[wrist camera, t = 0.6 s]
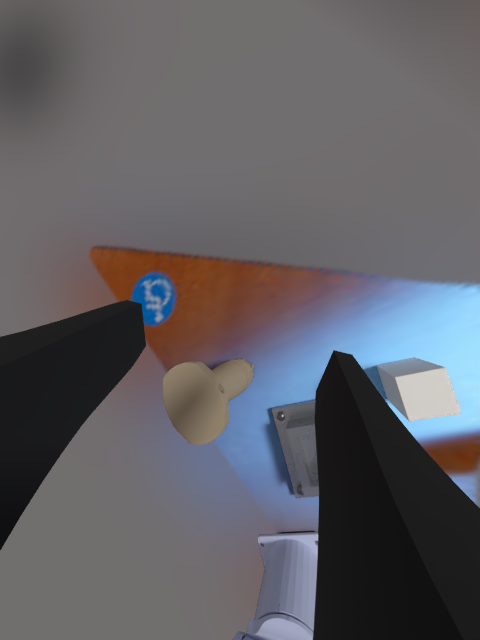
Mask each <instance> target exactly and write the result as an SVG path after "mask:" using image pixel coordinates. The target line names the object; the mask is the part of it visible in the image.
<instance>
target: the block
mask: <svg viewBox="0 0 480 640" xmlns="http://www.w3.org/2000/svg"><path fill="white" fill-rule="evenodd" d="M377 369H378V372H379V375H380V378H381V381H382V384H383V387H384V390H385V393H386V397H387V399H388V400H389V401H390V402H391V403H392V404H393V405H394V406H395V407H396V408H397V409H398V410H399V411H400V412H401V413H402V415H403V416H404V417H405V418H406V419H407V420H408V421H416V420H422V419H429V418H436V417H442V416H449V415H456V414H461V411H460V408H459V405H458V402H457V399H456V396H455V394H454V391H453V388H452V385H451V382H450V379H449V376H448V374H447V371H446V368H445V367H442V366H439V365H436V364H433V363H430V362H427V361H424V360H421V359H417V358H409V359H405V360H400V361H395V362H391V363H386V364H381V365H377Z"/></svg>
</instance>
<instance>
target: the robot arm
mask: <svg viewBox="0 0 480 640" xmlns="http://www.w3.org/2000/svg"><path fill="white" fill-rule="evenodd" d="M145 346H146V342H145V333H144V323H143V314H142V305H141V304H140V303H136V302H132V301H128V300H126V301H121V302H117V303H114V304H110V305H108V306H104V307H101V308H98V309H95V310H91V311H89V312H85V313H82V314H79V315H76V316H73V317H70V318H67V319H63V320H60V321H57V322H53V323H50V324H47V325H43V326H40V327H36V328H33V329H29V330H26V331H22V332H18V333H14V334H10V335H6V336H2V337H0V550H1V548H2V547H3V545H4V543H5V541H6V540H7V538H8V536H9V535H10V533H11V531H12V530H13V528H14V526H15V525H16V523H17V521H18V520H19V518H20V516H21V515H22V513H23V511H24V510H25V508H26V507H27V505H28V504H29V502H30V500H31V499H32V497H33V496H34V494H35V493H36V491H37V489H38V488H39V486H40V485H41V483H42V481H43V480H44V478H45V477H46V476H47V474H48V473H49V471H50V470H51V468H52V466H53V465H54V464H55V462H56V461H57V459H58V458H59V457H60V455H61V453H62V452H63V451H64V449H65V448H66V446H67V445H68V444H69V442H70V441H71V440H72V438H73V437H74V435H75V434H76V433H77V431H78V430H79V429H80V427H81V426H82V424H83V423H84V422H85V421H86V420H87V418H88V417H89V416H90V415H91V413H92V412H93V411H94V410H95V409H96V408H97V406H98V405H99V404H100V403H101V402H102V401H103V400H104V399H105V397H106V396H107V395H108V394H109V393H110V392H111V390H112V389H113V388H114V387H115V386H116V385H117V384H118V382H119V381H120V380H121V379H122V378H123V377H124V376H125V375H126V373H127V372H128V371H129V370H130V369H131V367H132V366H133V365H134V363H135V362H136V360H137V359H138V357H139V356H140V354H141V353H142V351H143V349H144V348H145ZM314 418H315V436H316V451H317V466H318V481H319V527H318V533H316V532H306V533H285V534H265V535H264V534H263V535H259V536H258V544H259V548H260V552H261V556H262V560H263V564H264V568H265V570H264V575H263V580H262V585H261V589H260V595H259V599H258V604H257V609H256V614H255V619H254V620H253V619H250V620H249V624H248V628H247V633H246V634H245V633H244V632H240V631H239V632H238V633H237V634H236V636H235V637H234V638H233V639H232V640H480V508H479V507H478V506H477V505H476V504H475V503H474V502H473V501H472V500H471V499H470V498H469V497H468V496H467V495H466V494H465V493H464V492H463V491H462V490H461V489H460V488H459V487H458V486H457V485H456V484H455V483H454V482H453V481H452V479H451V478H450V477H449V476H448V475H447V474H446V473H445V472H444V471H443V470H442V469H441V468H440V466H439V465H438V464H437V463H436V462H435V461H434V460H433V459H432V458H431V457H430V456H429V454H428V453H427V452H426V451H425V450H424V449H423V448H422V446H421V445H420V444H419V443H418V442H417V441H416V439H415V438H414V437H413V436H412V434H411V433H410V432H409V431H408V430H407V428H406V427H405V426H404V425H403V423H402V422H401V421H400V420H399V418H398V417H397V416H396V415H395V413H394V412H393V411H392V409H391V408H390V407H389V406H388V404H387V403H386V402H385V400H384V399H383V397H382V396H381V395H380V393H379V392H378V391H377V389H376V388H375V386H374V385H373V384H372V382H371V381H370V379H369V378H368V377H367V375H366V374H365V372H364V371H363V369H362V368H361V367H360V365H359V364H358V362H357V361H356V359H355V358H354V357H353V355H351V354H347V353H342V352H338V351H333V353H332V355H331V358H330V360H329V362H328V365H327V367H326V369H325V372H324V374H323V376H322V379H321V381H320V383H319V385H318V388H317V390H316V400H315V417H314ZM315 541H318V543H317V542H315ZM261 543H263V544H261Z"/></svg>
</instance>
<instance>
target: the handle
mask: <svg viewBox="0 0 480 640" xmlns="http://www.w3.org/2000/svg"><path fill="white" fill-rule="evenodd" d="M253 369H254V366H253V364H250V363H248V362H247V361H246V360H245V359H236V360H230V361H227V362H224V363H222V364H220V365H219V366H217V367H216V368H214V369H212V370H210V369H209V368H208V367H207V366H206V365H204V364H203V363H202V362H198V361H190V362H185V363H182V364H179V365H177V366H175V367H173V368H172V369H170V370H169V371H168V372H167V374H166V375H165V377H164V379H163V401H164V405H165V408H166V411H167V413H168V416H169V418H170V420H171V422H172V424H173V426H174V427H175V429H176V430H177V431H178V432H179V433H180V434H181V435H182V436H183V437H184V438H185V439H186V440H187V441H188V442H189V443H191V444H196V445H201V444H206V443H209V442H211V441H213V440H215V439H216V438H217V437H219V435H220V434H221V433H222V432H223V431H224V429H225V428H226V426H227V424H228V422H229V408H228V402H229V401H230V400H232V399H233V398H235V397H236V396H238V395H240V394H241V393H242V392H243V391H244V390H245V389H246V388H247V387H248V385H249V384H250V382H251V381H252V379H253Z"/></svg>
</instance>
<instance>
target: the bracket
mask: <svg viewBox="0 0 480 640" xmlns="http://www.w3.org/2000/svg"><path fill="white" fill-rule="evenodd" d="M315 400H316V399H315ZM315 400H310V401H305V402H299V403H294V404H289V405H283V406H278V407H273V408H272V413H273V416H274V420H275V424H276V427H277V431H278V435H279V438H280V442H281V446H282V449H283V453H284V457H285V460H286V464H287V468H288V471H289V475H290V479H291V482H292V486H293V490H294V493H295V497H296V498H302V497H314V496H319V481H318V466H317V451H316V436H315V418H314V417H315Z"/></svg>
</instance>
